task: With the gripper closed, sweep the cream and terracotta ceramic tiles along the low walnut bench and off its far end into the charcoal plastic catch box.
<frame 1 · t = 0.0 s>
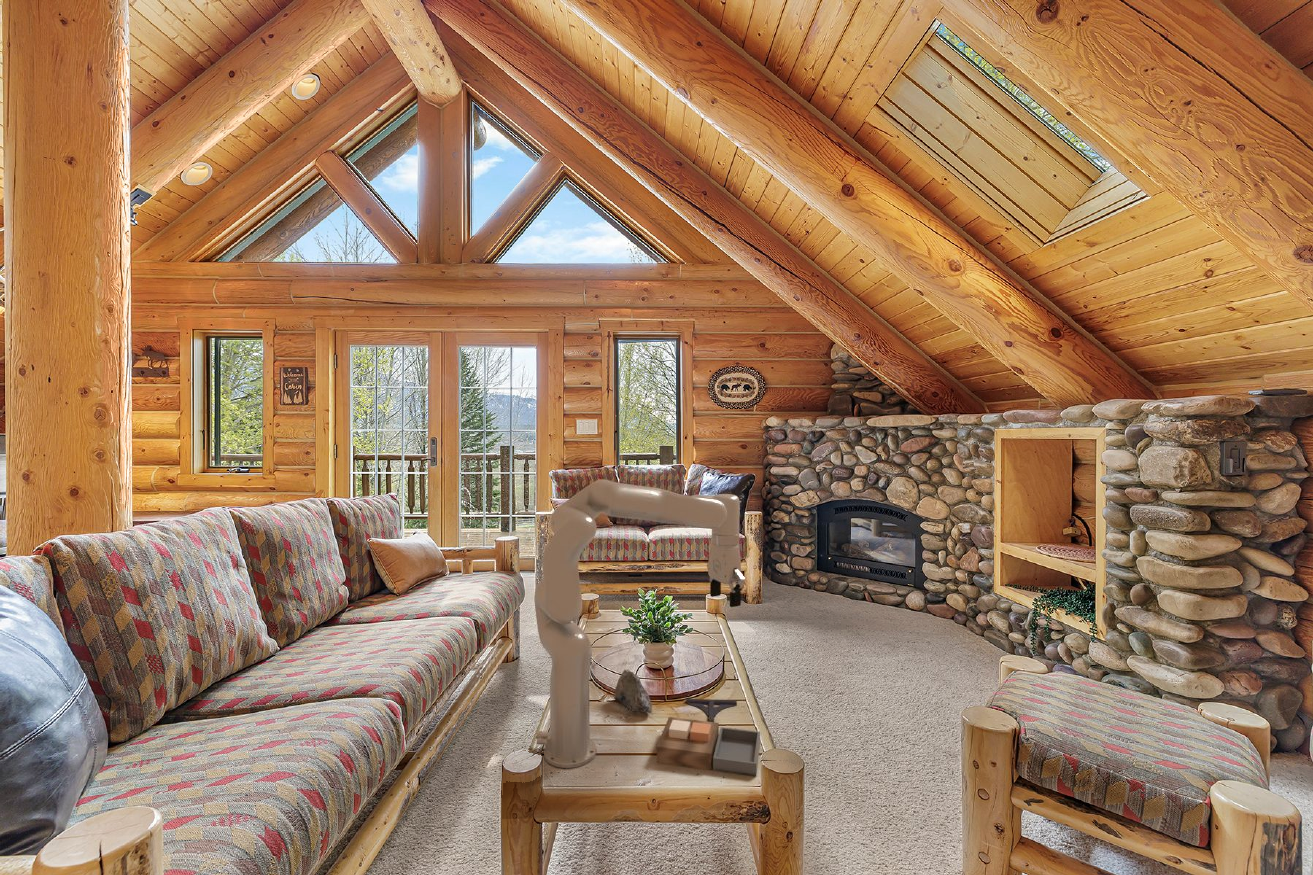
hand: (725, 600, 167), 31 cm above the table, tool pointing down, fingers open, 9 cm apart
walnut bench: (688, 749, 150), on the table
bracket: (711, 718, 167), on the table
catch box: (737, 756, 148), on the table
cream tile: (679, 733, 151), point 4 cm above the table, touching walnut bench
terracotta tile: (700, 735, 149), point 4 cm above the table, touching walnut bench
mineral rock: (632, 708, 171), on the table
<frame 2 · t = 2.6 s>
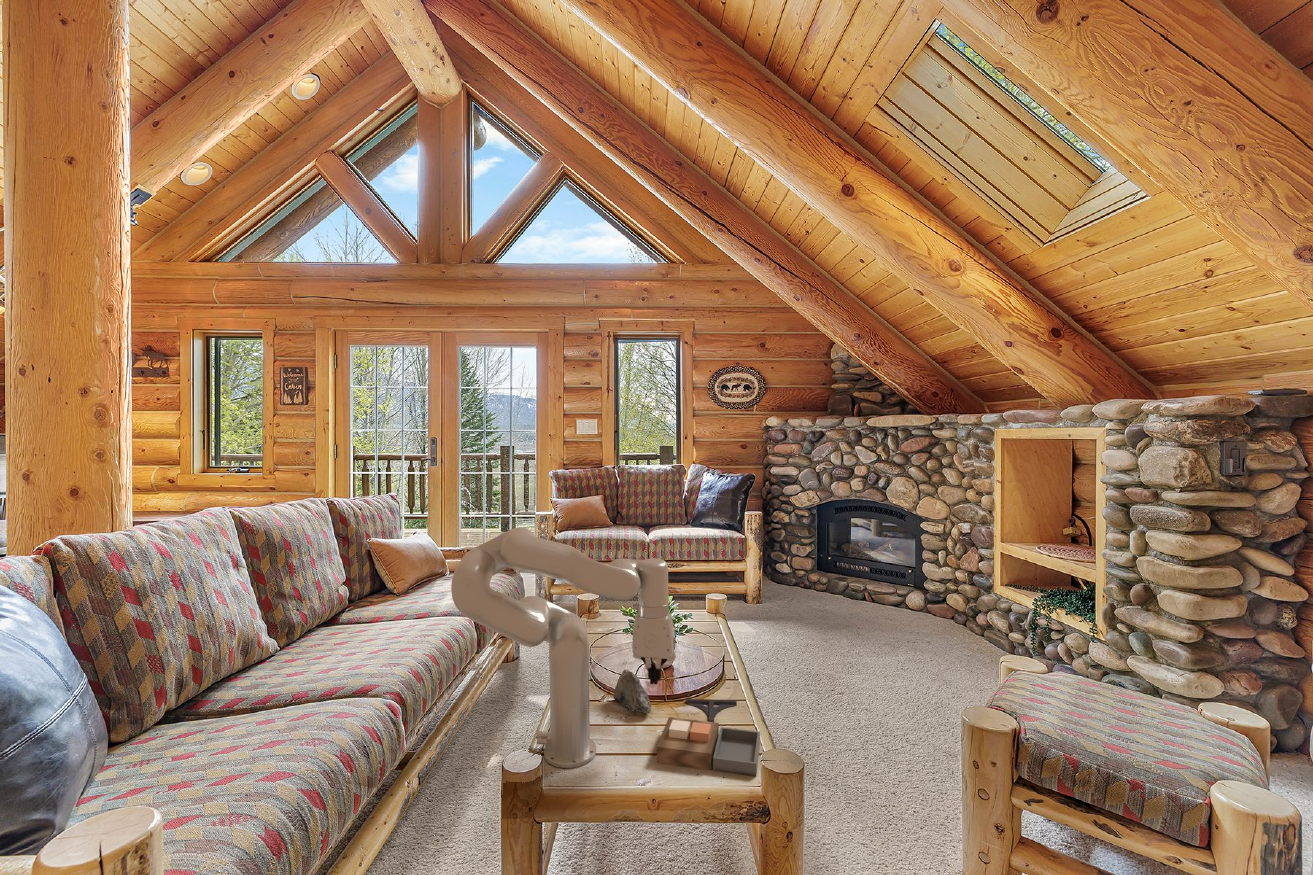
hand: (654, 681, 152), 16 cm above the table, tool pointing down, fingers closed
nothing on the table moved.
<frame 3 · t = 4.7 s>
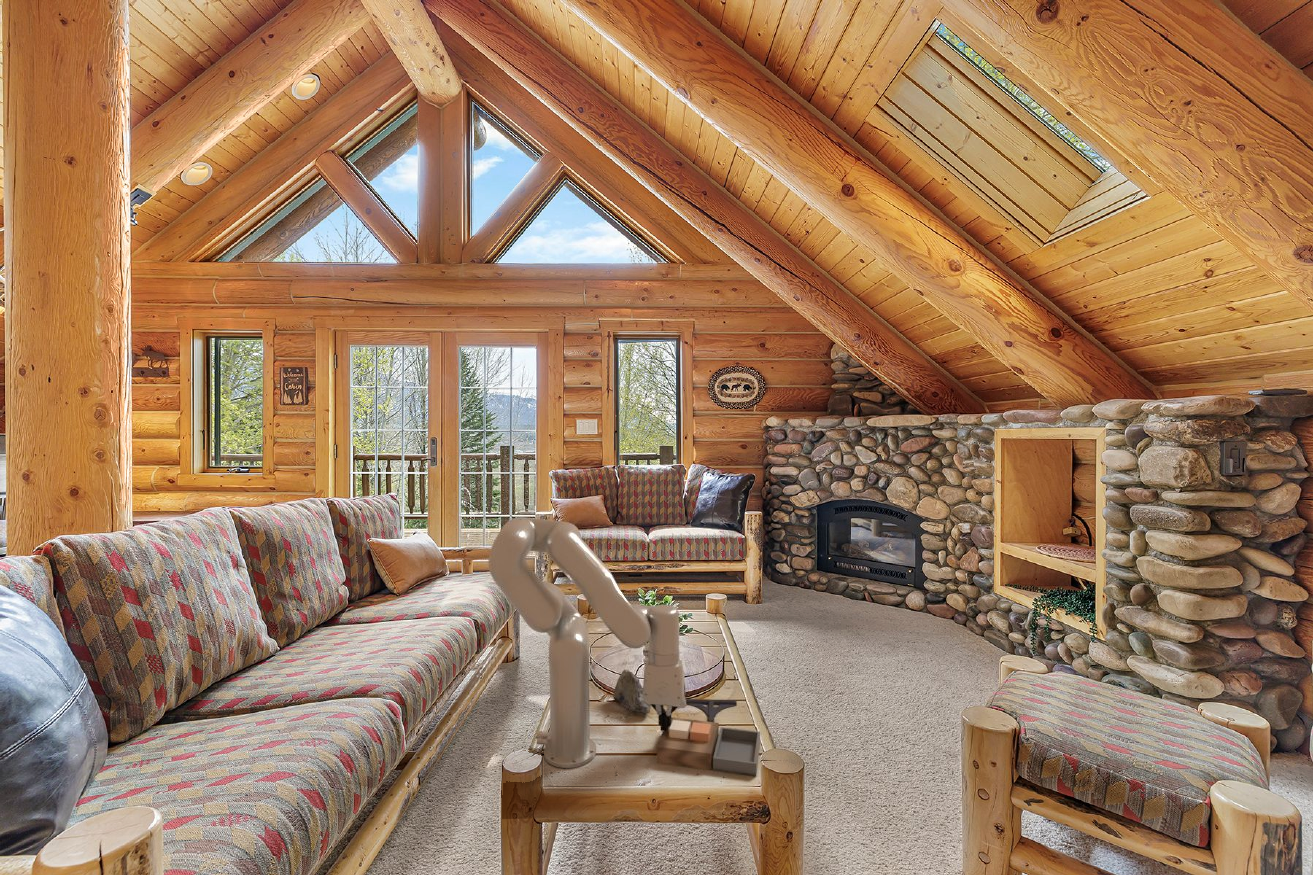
hand: (665, 727, 152), 5 cm above the table, tool pointing down, fingers closed
cream tile: (680, 733, 151), point 4 cm above the table, touching gripper, walnut bench
everything else where it was.
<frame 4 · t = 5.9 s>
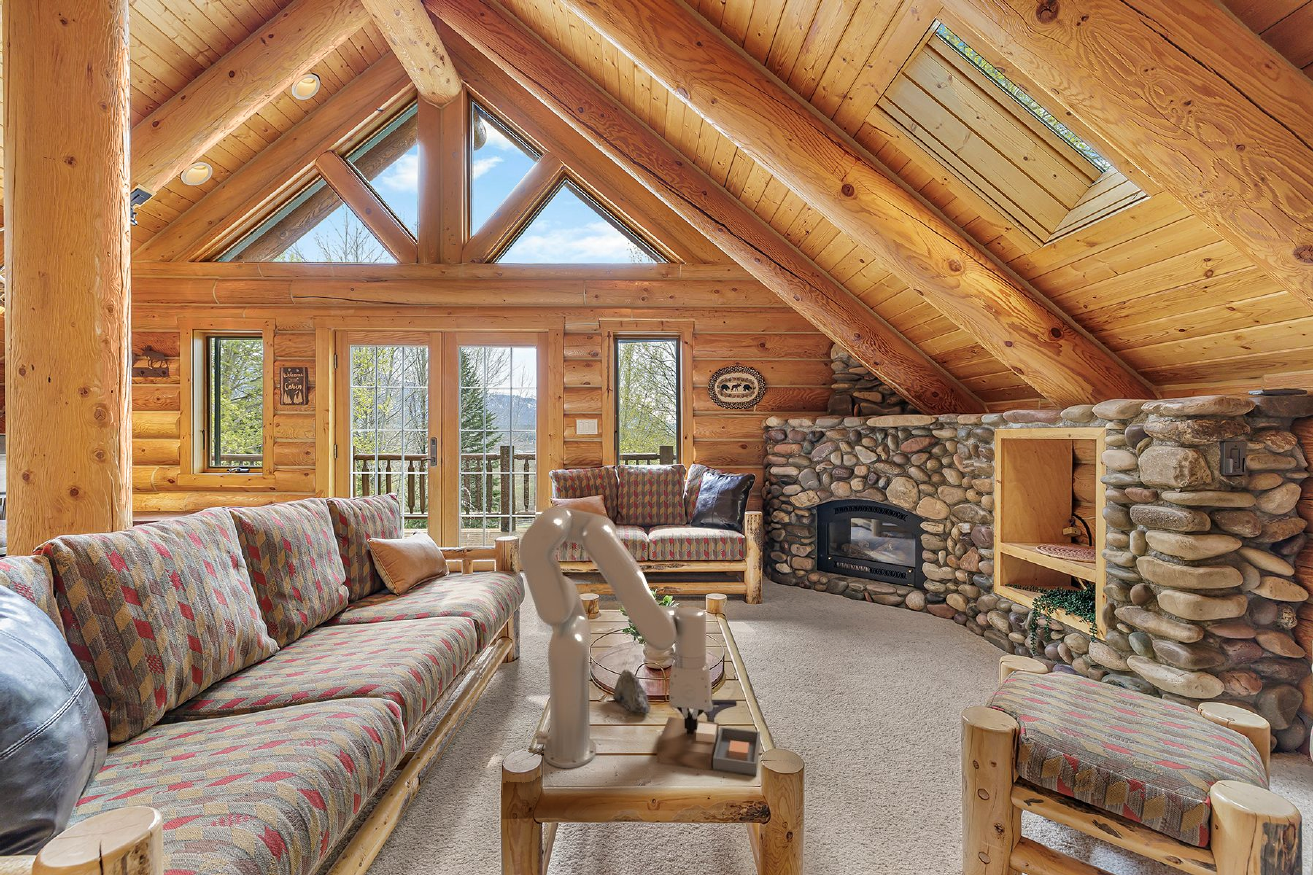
hand: (691, 731, 150), 5 cm above the table, tool pointing down, fingers closed
cream tile: (706, 736, 149), point 4 cm above the table, touching gripper
terracotta tile: (738, 746, 147), point 3 cm above the table, tilted 180°, touching catch box
everything else where it was.
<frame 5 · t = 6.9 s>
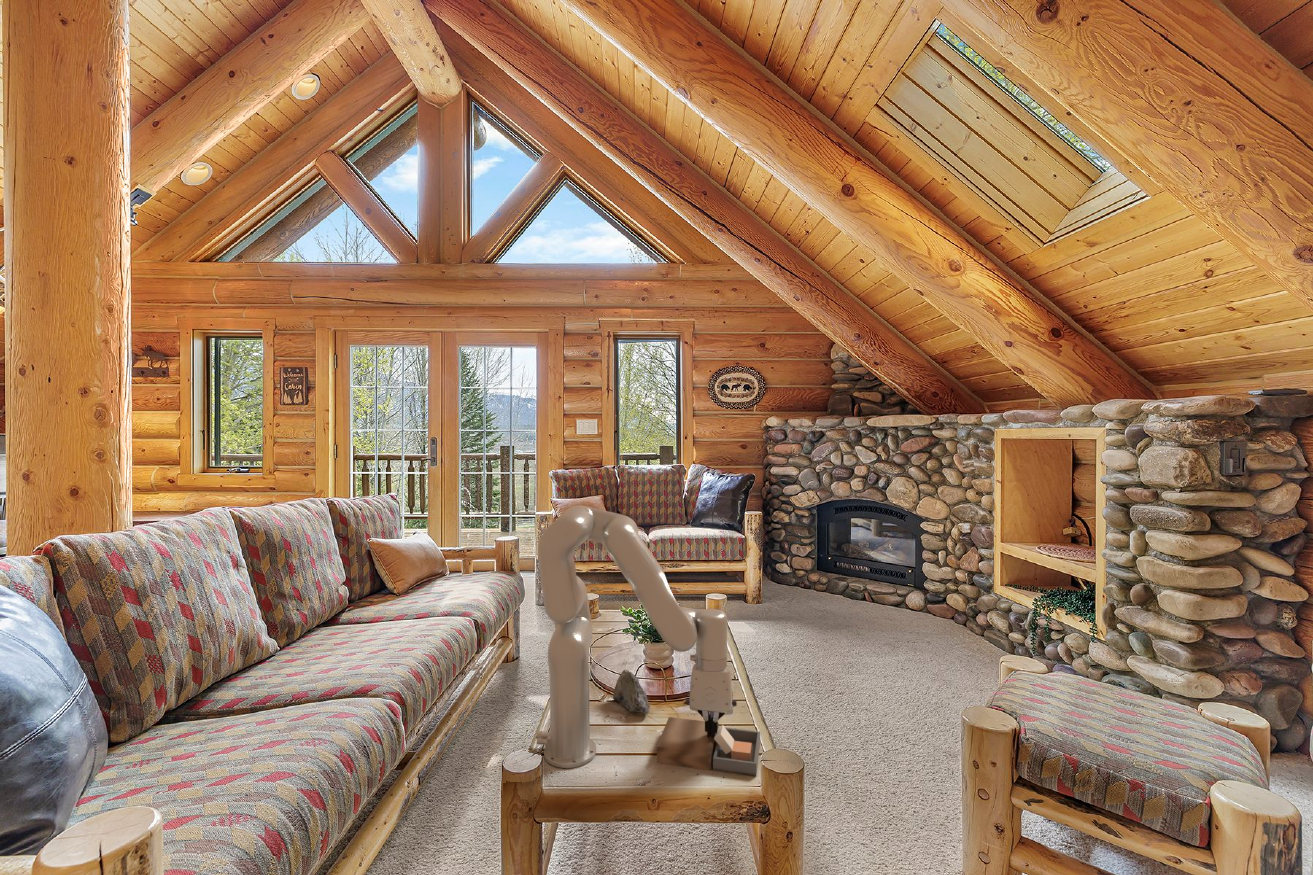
hand: (711, 734, 149), 5 cm above the table, tool pointing down, fingers closed
cream tile: (721, 741, 148), point 3 cm above the table, tilted 51°, touching gripper, terracotta tile
terracotta tile: (741, 746, 147), point 3 cm above the table, tilted 180°, touching catch box, cream tile
everything else where it was.
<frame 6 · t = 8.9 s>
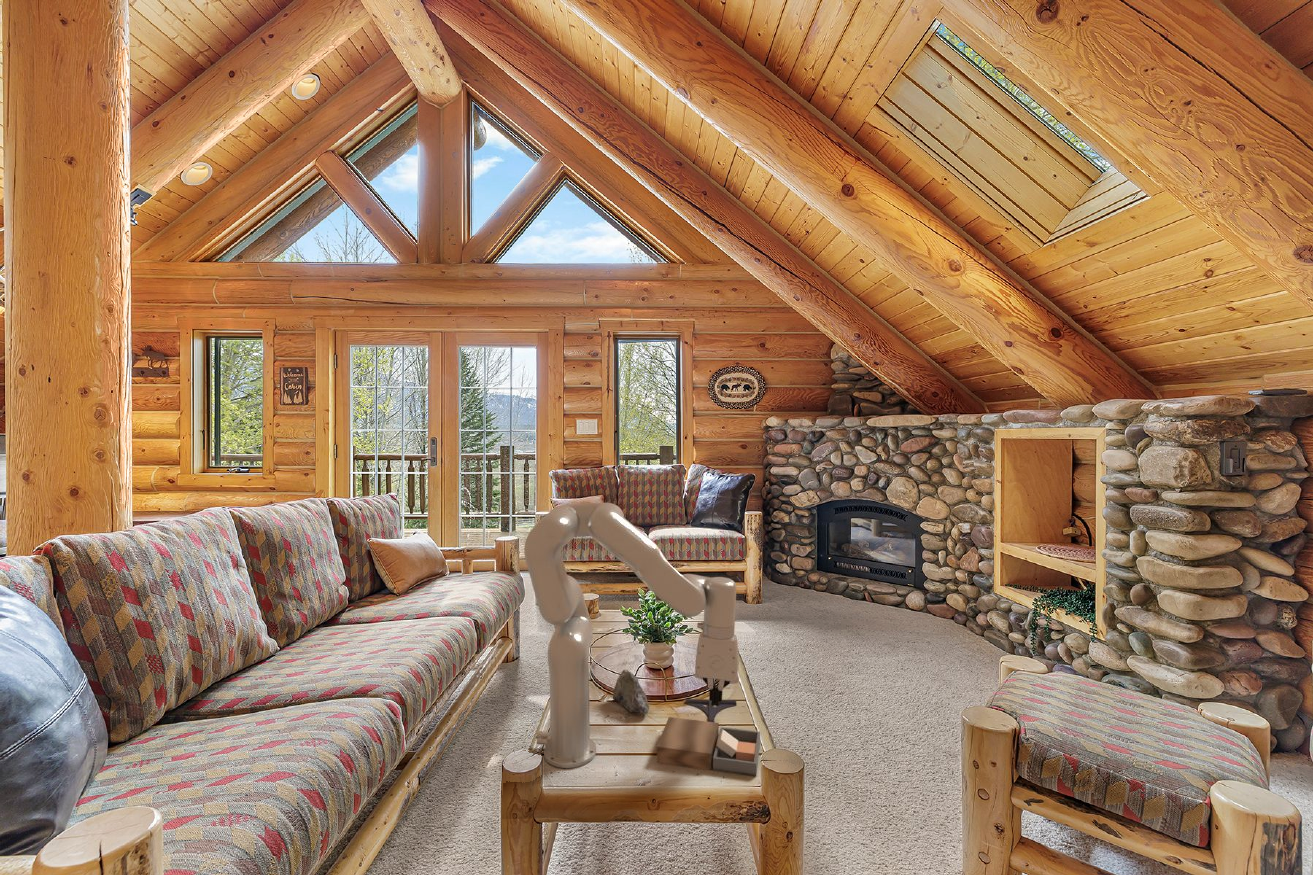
hand: (715, 703, 148), 13 cm above the table, tool pointing down, fingers closed
cream tile: (725, 745, 148), point 2 cm above the table, tilted 33°, touching catch box, terracotta tile
terracotta tile: (746, 747, 147), point 2 cm above the table, tilted 180°, touching catch box, cream tile
everything else where it was.
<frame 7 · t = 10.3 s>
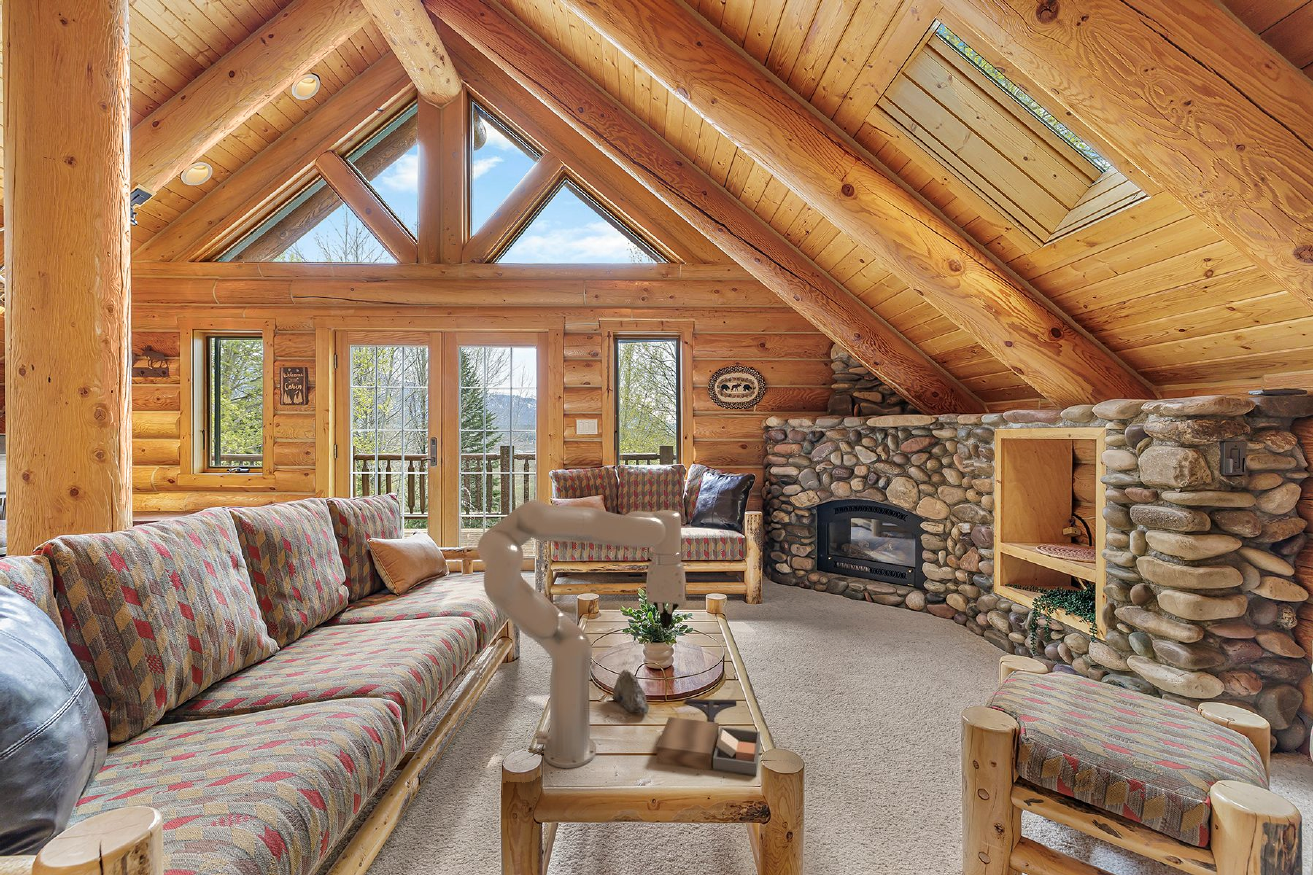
hand: (666, 626, 160), 27 cm above the table, tool pointing down, fingers closed
nothing on the table moved.
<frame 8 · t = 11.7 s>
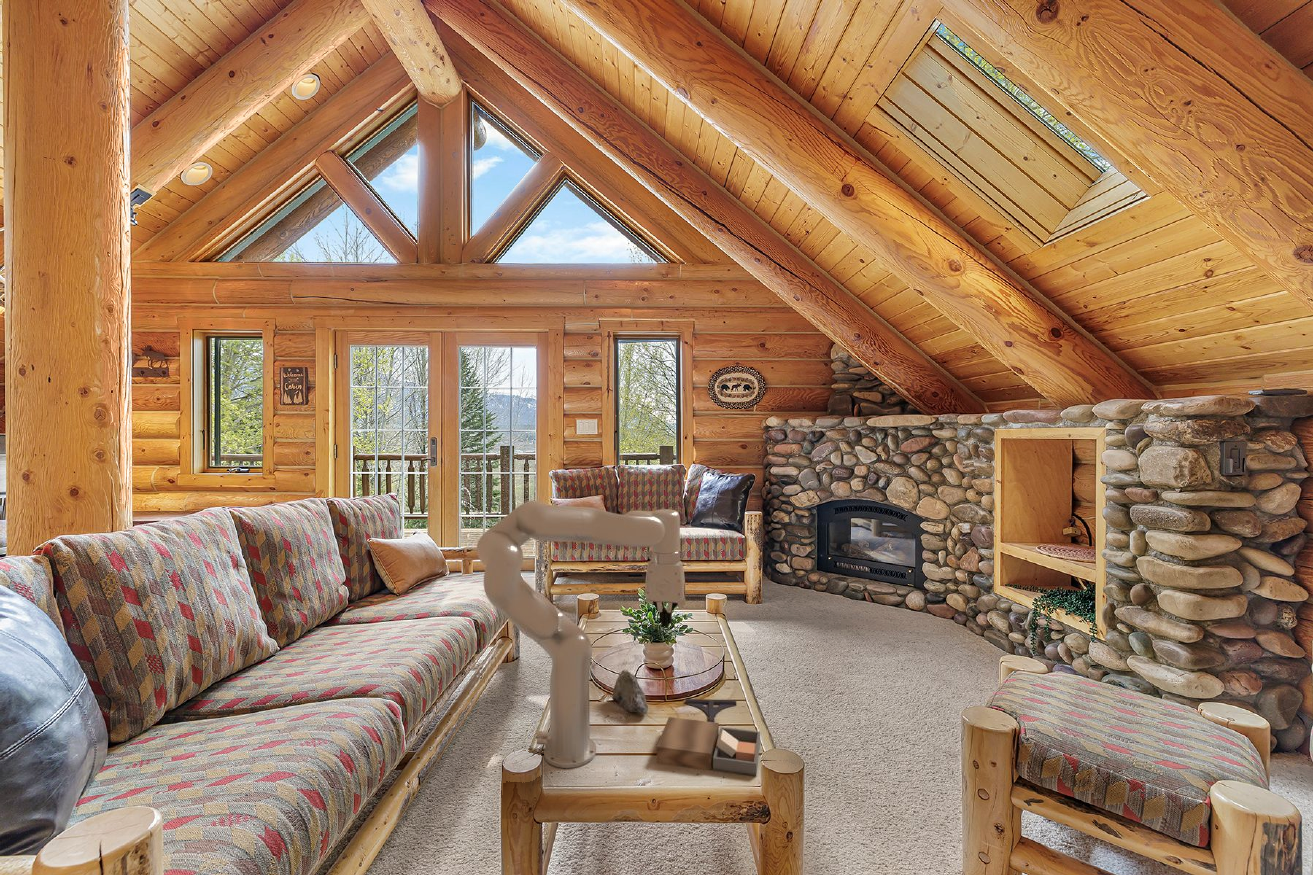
hand: (665, 625, 160), 27 cm above the table, tool pointing down, fingers closed
nothing on the table moved.
at the end: terracotta tile inside the target area on the catch box (2.1 cm from its centre), point 2.5 cm above the catch box's base; cream tile inside the target area on the catch box (3.0 cm from its centre), point 2.1 cm above the catch box's base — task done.
